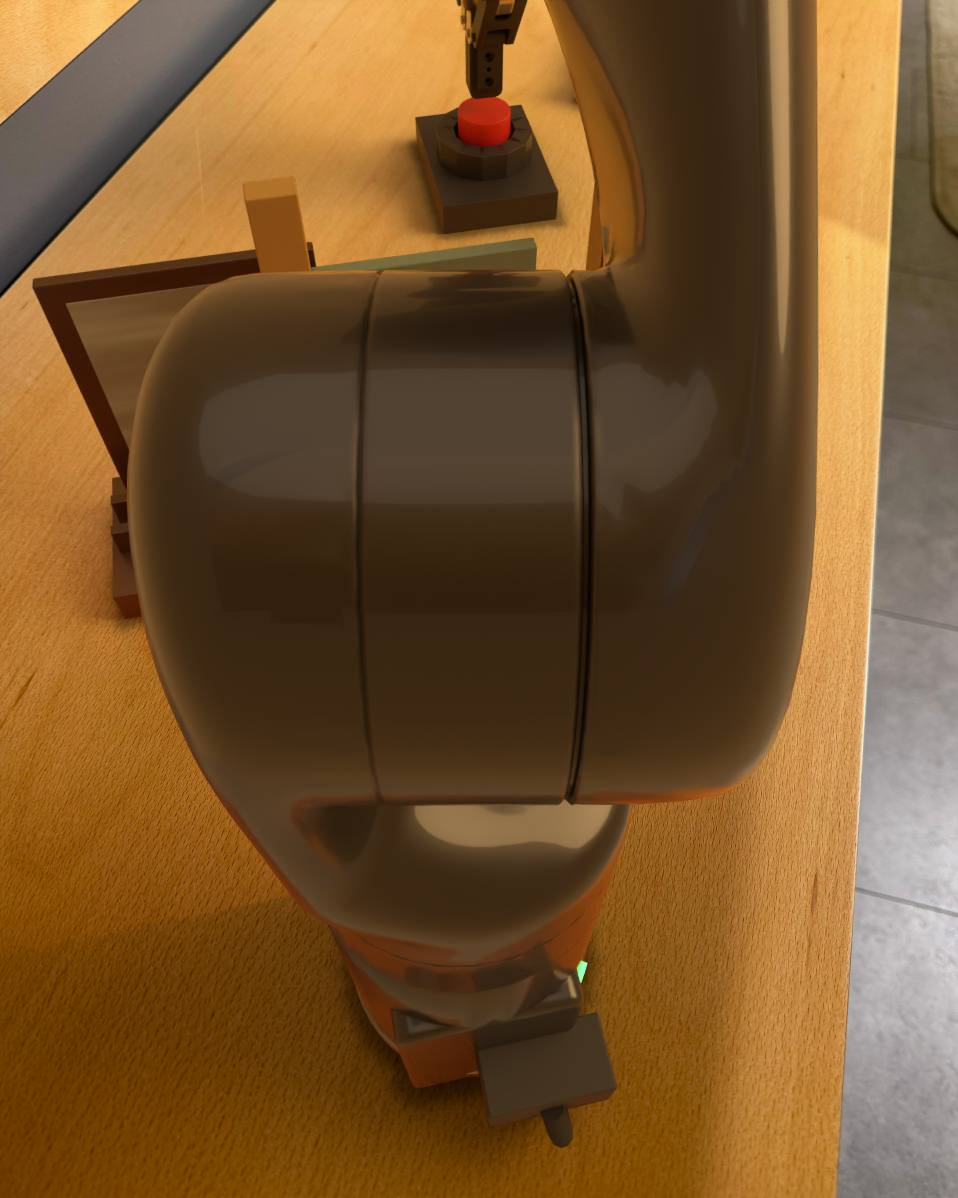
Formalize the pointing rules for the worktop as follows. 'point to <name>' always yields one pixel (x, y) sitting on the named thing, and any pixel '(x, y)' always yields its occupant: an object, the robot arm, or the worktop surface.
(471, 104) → the button
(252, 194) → the sash
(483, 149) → the button box
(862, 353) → the worktop surface
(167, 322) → the window frame
